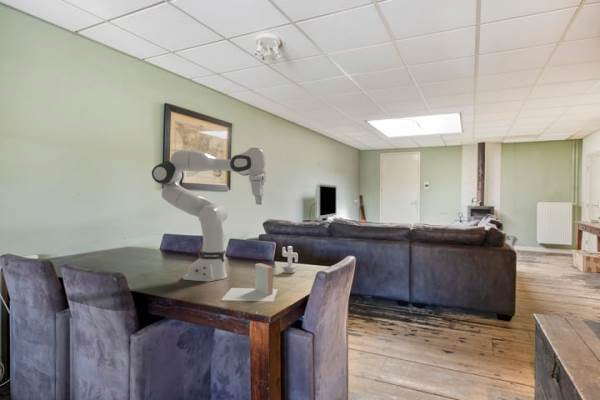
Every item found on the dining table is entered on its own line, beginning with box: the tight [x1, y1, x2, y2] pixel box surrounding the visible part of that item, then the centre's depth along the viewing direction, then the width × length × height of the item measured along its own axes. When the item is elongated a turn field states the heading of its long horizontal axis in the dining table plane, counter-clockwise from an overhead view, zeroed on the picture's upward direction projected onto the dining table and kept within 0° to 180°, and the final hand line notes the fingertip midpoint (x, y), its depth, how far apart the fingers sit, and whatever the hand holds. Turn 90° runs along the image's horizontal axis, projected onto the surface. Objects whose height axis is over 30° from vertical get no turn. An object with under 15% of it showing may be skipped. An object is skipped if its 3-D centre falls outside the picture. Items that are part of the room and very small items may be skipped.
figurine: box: [281, 245, 299, 274], centre depth 190 cm, size 7×9×15 cm
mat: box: [220, 287, 279, 302], centre depth 146 cm, size 22×18×1 cm
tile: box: [254, 262, 274, 295], centre depth 150 cm, size 3×10×12 cm, turn 39°
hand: (258, 204), depth 174 cm, fingers open, 8 cm apart
